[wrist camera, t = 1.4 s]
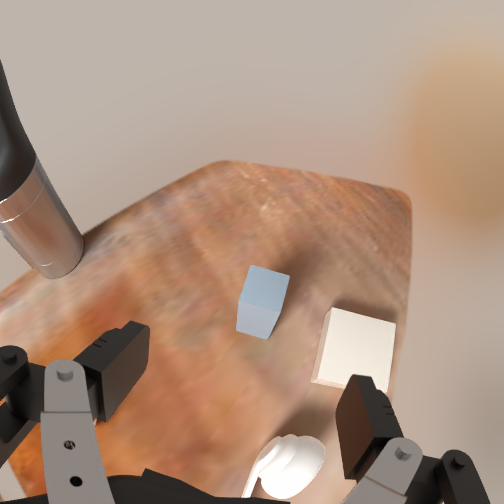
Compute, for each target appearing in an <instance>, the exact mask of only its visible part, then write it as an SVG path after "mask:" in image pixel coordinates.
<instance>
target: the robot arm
mask: <svg viewBox="0 0 504 504" xmlns="http://www.w3.org/2000/svg"><path fill="white" fill-rule="evenodd" d="M0 230H1V231H2V235H3V237H4V238H5V239H6V240H7V241H8V242H9V243H10V244H11V246H12V247H13V248H14V249H15V250H16V251H17V252H18V253H19V254H20V255H21V256H22V258H23V259H24V260H25V261H26V262H27V263H28V264H29V265H30V266H31V267H32V268H35V269H36V270H37V271H38V272H39V273H40V274H41V275H43V276H44V277H47V278H52V279H54V278H59V277H62V276H64V275H66V274H67V273H69V272H70V271H71V270H72V269H74V267H75V266H76V265H77V264H78V262H79V260H80V259H81V256H82V254H83V249H84V241H83V237H82V235H81V233H80V232H79V230H78V229H77V227H76V225H75V224H74V222H73V220H72V218H71V217H70V215H69V214H68V212H67V210H66V208H65V207H64V205H63V203H62V201H61V200H60V198H59V196H58V195H57V193H56V191H55V189H54V187H53V186H52V184H51V182H50V180H49V178H48V176H47V174H46V172H45V170H44V169H43V167H42V165H41V163H40V161H39V159H38V157H37V155H36V153H35V151H34V149H33V147H32V145H31V143H30V141H29V139H28V137H27V135H26V133H25V131H24V129H23V126H22V124H21V122H20V119H19V117H18V114H17V111H16V109H15V105H14V103H13V100H12V96H11V93H10V90H9V86H8V83H7V79H6V76H5V73H4V70H3V66H2V63H1V60H0ZM149 337H150V328H149V326H147V325H144V324H141V323H138V322H135V321H129V322H128V323H127V324H126V325H125V326H124V327H123V328H122V329H118V328H115V329H112V330H109V331H106V332H105V333H104V334H102V335H101V336H100V337H99V338H98V339H97V340H95V341H94V342H93V344H91V345H90V346H88V347H87V348H86V349H85V350H84V351H83V352H81V353H80V354H79V355H78V356H77V357H76V358H74V359H73V360H68V359H60V360H55V361H53V362H51V363H49V364H48V365H47V367H45V366H41V365H37V364H33V363H29V362H28V357H27V353H26V352H25V351H24V350H23V349H22V348H20V347H17V346H12V345H9V346H3V347H0V401H1V400H2V399H3V398H4V397H5V400H6V401H5V402H4V403H3V404H2V405H1V406H0V468H1V467H2V465H3V464H4V463H5V462H6V460H7V459H8V458H9V457H10V455H11V454H12V453H13V452H14V450H15V449H16V448H17V447H18V446H19V444H20V443H21V442H22V441H23V439H24V438H25V437H26V436H27V435H28V433H29V432H30V431H31V430H32V429H33V427H34V426H35V425H36V424H37V423H38V422H39V423H41V441H42V454H43V465H44V473H45V481H46V488H47V494H42V495H38V496H33V497H28V498H23V499H17V500H11V501H4V502H0V504H290V502H285V501H277V500H269V499H262V498H256V497H247V498H227V497H214V496H212V495H209V494H207V493H205V492H203V491H201V490H199V489H197V488H195V487H193V486H191V485H189V484H187V483H185V482H183V481H181V480H179V479H176V478H172V477H169V476H166V475H163V474H160V473H157V472H155V471H152V470H149V469H146V468H145V470H144V472H143V474H142V476H134V475H115V476H109V477H106V473H105V470H104V466H103V462H102V459H101V455H100V451H99V447H98V443H97V438H96V434H95V429H94V424H93V422H94V421H95V419H96V418H97V419H100V420H102V421H104V422H106V423H107V421H108V420H109V419H110V417H111V416H112V415H113V413H114V412H115V410H116V409H117V408H118V406H119V405H120V404H121V402H122V401H123V400H124V398H125V397H126V396H127V394H128V393H129V392H130V390H131V389H132V388H133V386H134V385H135V384H136V382H137V381H138V380H139V378H140V377H141V376H142V374H143V373H144V371H145V369H146V366H147V363H148V353H149ZM336 424H337V430H338V436H339V442H340V449H341V456H342V462H343V469H344V477H345V479H352V480H356V482H357V484H356V486H355V487H354V488H353V489H352V491H351V492H350V493H349V494H348V495H347V497H346V498H345V499H344V500H343V501H342V502H341V504H442V503H443V502H444V504H490V501H489V499H488V496H487V494H486V491H485V489H484V487H483V484H482V482H481V479H480V477H479V475H478V472H477V470H476V468H475V466H474V464H473V462H472V460H471V458H470V457H469V456H468V455H467V454H466V453H464V452H462V451H459V450H449V451H447V452H446V453H445V454H444V455H443V456H442V457H441V459H437V458H433V457H428V456H424V455H423V454H422V450H421V449H420V447H419V446H418V445H417V444H416V443H415V442H413V441H411V440H409V439H406V438H404V436H403V433H402V431H401V428H400V426H399V423H398V421H397V418H396V416H395V415H394V411H393V408H392V406H391V403H390V401H389V399H388V397H387V396H386V395H385V394H384V393H383V392H382V391H381V390H379V389H376V386H375V384H374V381H373V379H372V377H371V376H364V375H357V374H353V375H352V376H351V377H350V379H349V381H348V383H347V385H346V388H345V390H344V392H343V394H342V396H341V398H340V400H339V403H338V405H337V408H336Z"/></svg>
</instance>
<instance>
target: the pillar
mask: <svg viewBox="0 0 504 504" xmlns="http://www.w3.org/2000/svg"><path fill="white" fill-rule="evenodd" d="M289 278H290V276H289V275H285V274H282V273H278V272H275V271H272V270H268V269H265V268H261V267H258V266H254V265H251V266H250V269H249V272H248V275H247V278H246V281H245V284H244V287H243V290H242V293H241V296H240V299H239V304H238V314H237V325H236V331H239V332H242V333H245V334H249V335H252V336H255V337H259V338H262V339H266V340H268V338H269V336H270V334H271V331H272V329H273V327H274V325H275V323H276V321H277V319H278V317H279V315H280V313H281V309H282V305H283V301H284V298H285V294H286V290H287V286H288V282H289Z"/></svg>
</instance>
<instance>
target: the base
mask: <svg viewBox="0 0 504 504" xmlns="http://www.w3.org/2000/svg"><path fill="white" fill-rule="evenodd" d="M395 327H396V324H395V323H391V322H387V321H383V320H379V319H375V318H372V317H368V316H364V315H360V314H356V313H352V312H349V311H345V310H341V309H337V308H334V307H332V308H331V309H330V310H329V311H328V313H327V314H326V315H325V319H324V324H323V329H322V334H321V338H320V343H319V347H318V352H317V356H316V361H315V365H314V369H313V374H312V378H311V382H314V383H318V384H323V385H327V386H332V387H337V388H342V389H345V388H346V385H347V383H348V381H349V379H350V377H351V376H352V375H353V374H357V375H364V376H371V377H372V379H373V381H374V384H375V386H376V389H379V390H381V391H382V392H383V393H385V392H387V388H388V382H389V376H390V369H391V362H392V355H393V346H394V337H395Z"/></svg>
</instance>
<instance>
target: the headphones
mask: <svg viewBox="0 0 504 504" xmlns="http://www.w3.org/2000/svg"><path fill="white" fill-rule="evenodd" d="M325 456H326V450H325V447H324V445H323V444H322V443H321V442H320V441H319V440H318V439H316V438H314V437H311V436H299V437H297V436H295V435H292V434H288V435H286V436H284V437H280V436H277V437H275V438H273V439H272V440H271V441H270V442H269V443H268V444H267V445H266V446H265V447H264V448H263V449H262V450H261V452H260V453H259V454H258V456H257V458H256V460H255V462H254V465H253V467H252V470H251V473H250V475H249V478H248V480H247V483H246V486H245V488H244V491H243V494H242V496H241V497H240V498H247V497H250V495H251V493H252V490H253V488H254V485H255V483H256V480H257V478H258V477H260V478H261V484H262V487H263V488H264V490H265V491H266V492H267V493H268V494H269V495H271V496H273V497H275V498H280V499H285V498H289V497H292V496H294V495H296V494H297V493H299V492H300V491H301V490H302V489H304V488H305V487H306V486H307V485H308V484H309V483H310V482H311V481H312V480H313V478H314V477H315V476H316V474H317V473H318V472H319V470H320V468H321V467H322V465H323V462H324V460H325Z"/></svg>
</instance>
